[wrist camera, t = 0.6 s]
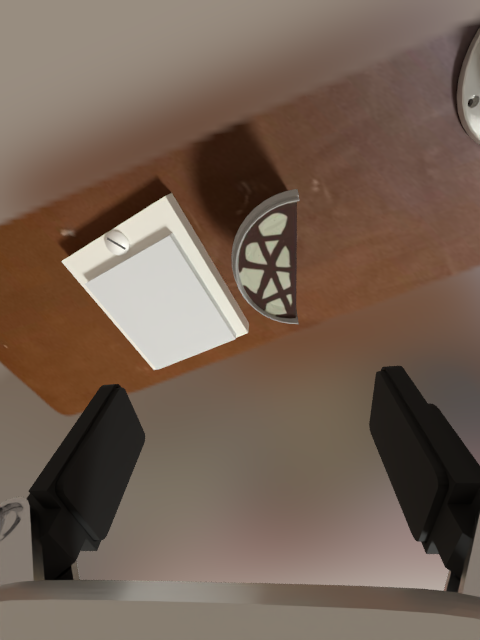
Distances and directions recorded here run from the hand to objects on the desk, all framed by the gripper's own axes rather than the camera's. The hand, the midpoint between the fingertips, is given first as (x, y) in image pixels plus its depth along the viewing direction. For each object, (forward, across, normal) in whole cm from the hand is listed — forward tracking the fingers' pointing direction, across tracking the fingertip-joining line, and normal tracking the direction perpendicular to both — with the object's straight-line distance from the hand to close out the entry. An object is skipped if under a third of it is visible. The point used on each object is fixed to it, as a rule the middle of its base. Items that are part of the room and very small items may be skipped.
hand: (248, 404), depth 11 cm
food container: (+26, -1, +1) cm, 26 cm away
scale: (+27, +13, +6) cm, 30 cm away
